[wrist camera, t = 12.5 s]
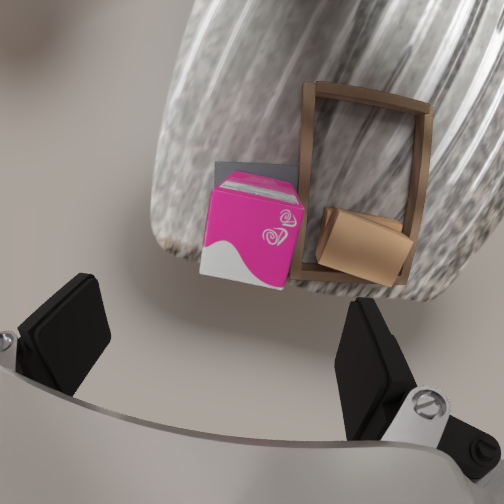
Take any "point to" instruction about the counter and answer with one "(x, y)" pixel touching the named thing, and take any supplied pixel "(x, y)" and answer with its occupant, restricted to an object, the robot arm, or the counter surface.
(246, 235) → the supplement box
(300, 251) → the wooden frame tray
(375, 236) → the offcut upper
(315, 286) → the counter surface
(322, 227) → the offcut lower
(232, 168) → the mat
